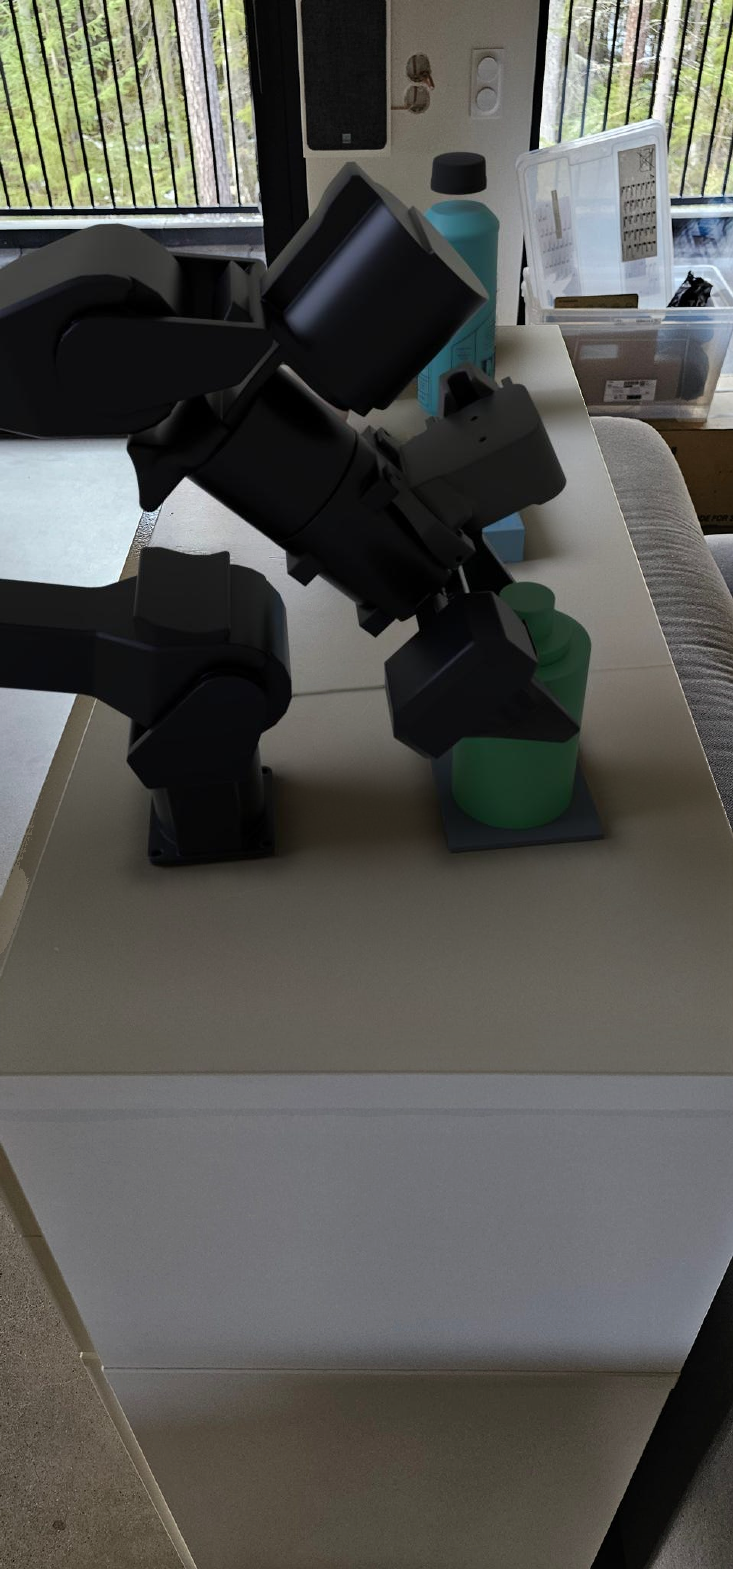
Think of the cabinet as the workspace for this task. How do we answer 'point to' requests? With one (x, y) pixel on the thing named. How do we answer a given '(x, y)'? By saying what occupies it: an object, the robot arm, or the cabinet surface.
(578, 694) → the green bottle
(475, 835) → the mat
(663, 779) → the cabinet surface
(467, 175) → the beverage bottle
